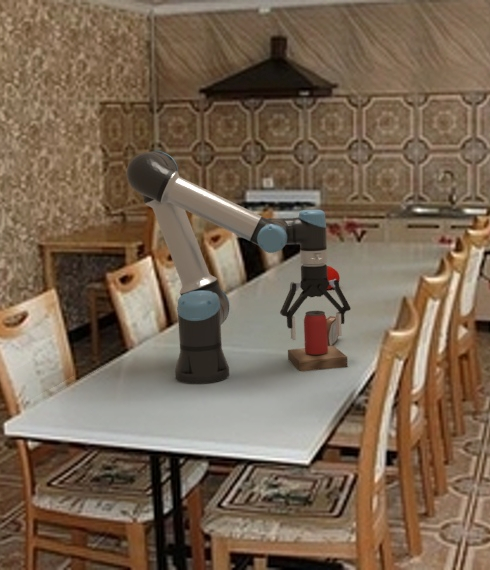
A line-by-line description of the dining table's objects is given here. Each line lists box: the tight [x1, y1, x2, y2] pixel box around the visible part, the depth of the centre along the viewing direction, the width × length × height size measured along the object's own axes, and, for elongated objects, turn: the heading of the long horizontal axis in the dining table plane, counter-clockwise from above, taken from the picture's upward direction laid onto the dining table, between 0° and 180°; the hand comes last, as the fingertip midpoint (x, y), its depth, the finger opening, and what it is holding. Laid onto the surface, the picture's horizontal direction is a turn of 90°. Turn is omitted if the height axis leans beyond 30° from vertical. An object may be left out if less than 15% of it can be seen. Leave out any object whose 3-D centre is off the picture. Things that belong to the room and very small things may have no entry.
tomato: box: [327, 265, 341, 290], centre depth 393 cm, size 11×12×9 cm
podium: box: [287, 345, 348, 372], centre depth 276 cm, size 14×14×3 cm
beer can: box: [303, 310, 328, 356], centre depth 275 cm, size 7×7×12 cm
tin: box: [326, 315, 339, 346], centre depth 298 cm, size 15×3×8 cm, turn 162°
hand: (316, 337), depth 275 cm, fingers open, 13 cm apart
